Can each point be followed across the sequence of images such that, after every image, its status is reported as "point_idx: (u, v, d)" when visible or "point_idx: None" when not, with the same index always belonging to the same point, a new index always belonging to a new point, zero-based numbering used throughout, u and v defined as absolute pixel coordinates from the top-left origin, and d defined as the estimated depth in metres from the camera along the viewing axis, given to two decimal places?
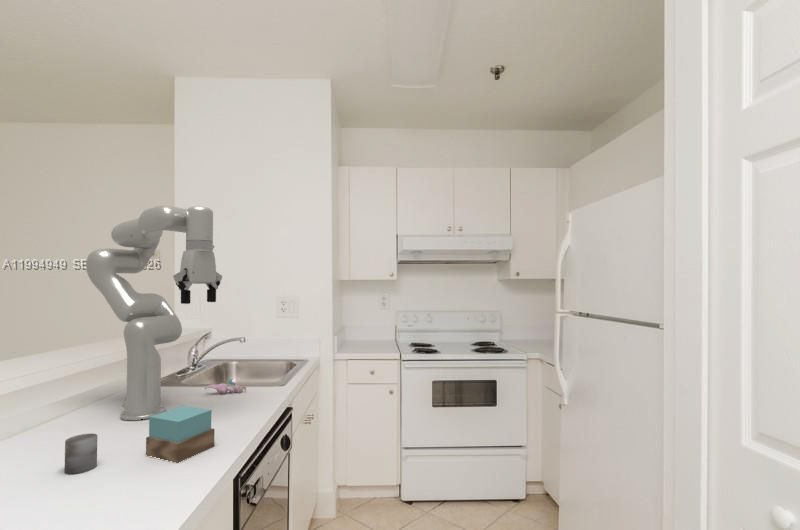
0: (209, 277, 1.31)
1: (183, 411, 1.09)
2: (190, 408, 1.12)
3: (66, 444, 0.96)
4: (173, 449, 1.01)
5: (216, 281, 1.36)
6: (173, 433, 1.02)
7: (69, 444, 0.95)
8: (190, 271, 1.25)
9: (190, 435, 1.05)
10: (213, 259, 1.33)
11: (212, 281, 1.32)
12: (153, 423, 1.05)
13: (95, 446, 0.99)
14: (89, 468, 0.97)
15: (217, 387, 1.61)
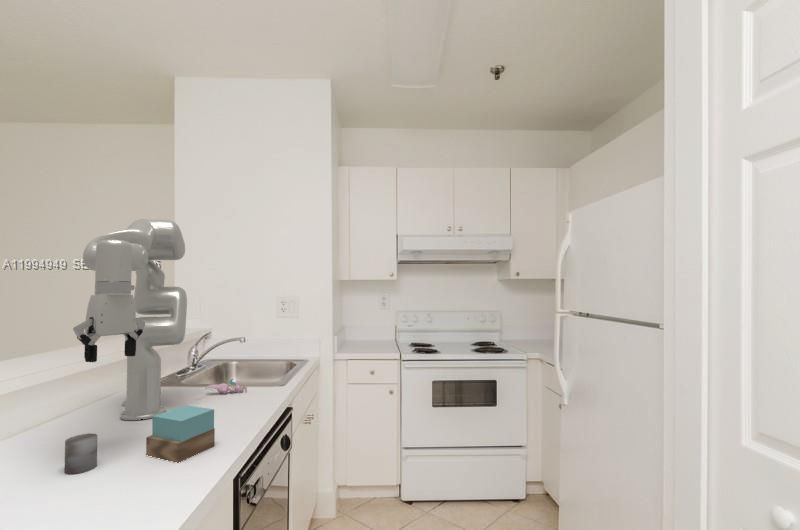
0: (125, 326, 1.06)
1: (186, 411, 1.10)
2: (193, 408, 1.12)
3: (66, 444, 0.96)
4: (173, 449, 1.02)
5: (137, 330, 1.11)
6: (176, 433, 1.02)
7: (69, 444, 0.95)
8: (97, 321, 1.00)
9: (193, 434, 1.05)
10: (132, 303, 1.08)
11: (130, 331, 1.07)
12: (156, 422, 1.05)
13: (95, 446, 0.99)
14: (89, 468, 0.97)
15: (218, 387, 1.61)
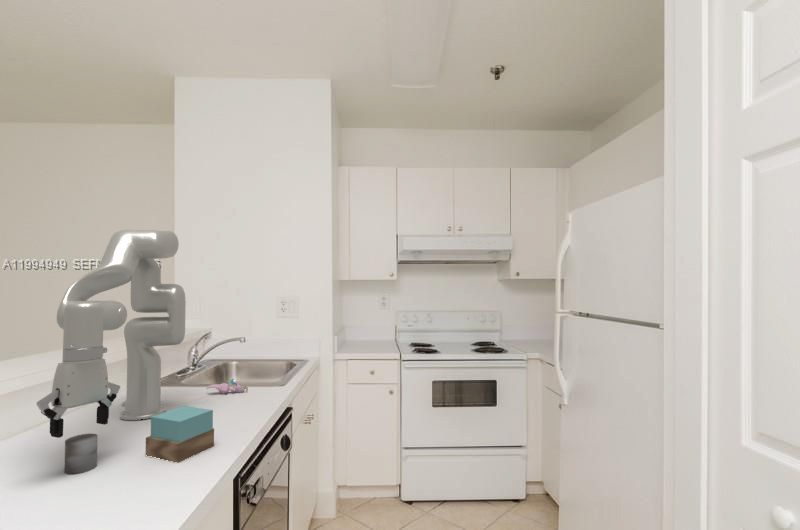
0: (96, 394, 0.99)
1: (185, 411, 1.09)
2: (192, 408, 1.12)
3: (66, 444, 0.96)
4: (173, 449, 1.02)
5: (110, 394, 1.04)
6: (175, 433, 1.02)
7: (69, 444, 0.95)
8: (63, 393, 0.93)
9: (192, 435, 1.05)
10: (103, 369, 1.01)
11: (101, 398, 1.01)
12: (154, 423, 1.05)
13: (95, 446, 0.99)
14: (89, 468, 0.97)
15: (219, 387, 1.62)
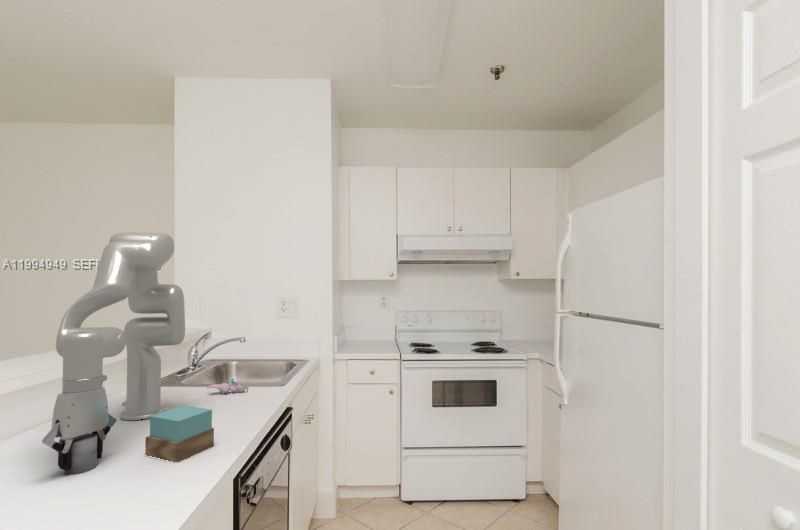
0: (96, 423, 0.99)
1: (184, 411, 1.10)
2: (191, 408, 1.12)
3: None
4: (173, 448, 1.02)
5: (105, 427, 1.03)
6: (173, 433, 1.02)
7: None
8: (63, 425, 0.93)
9: (190, 434, 1.05)
10: (103, 397, 1.01)
11: (101, 427, 1.01)
12: (153, 422, 1.05)
13: (95, 446, 0.99)
14: (89, 468, 0.97)
15: (219, 387, 1.62)
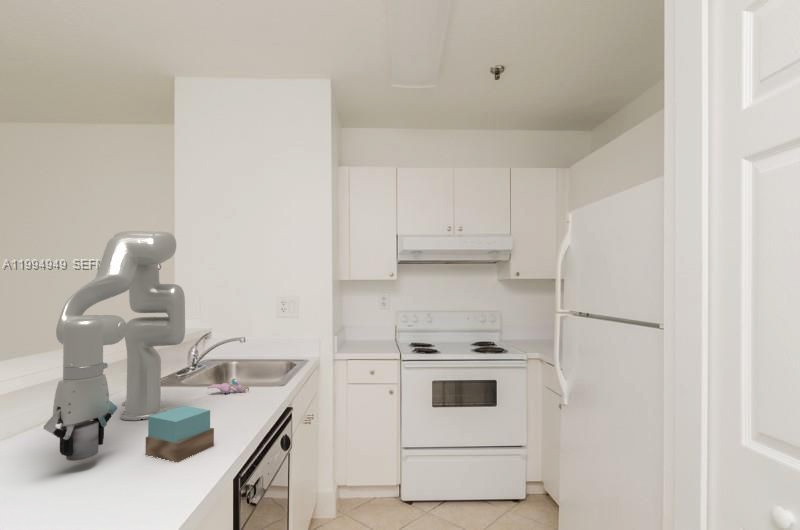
0: (97, 410, 1.00)
1: (182, 411, 1.09)
2: (190, 408, 1.12)
3: None
4: (173, 449, 1.02)
5: (106, 414, 1.04)
6: (171, 433, 1.02)
7: None
8: (64, 411, 0.94)
9: (188, 435, 1.05)
10: (104, 385, 1.01)
11: (103, 414, 1.01)
12: (152, 422, 1.05)
13: (96, 433, 0.99)
14: (90, 454, 0.98)
15: (220, 387, 1.62)
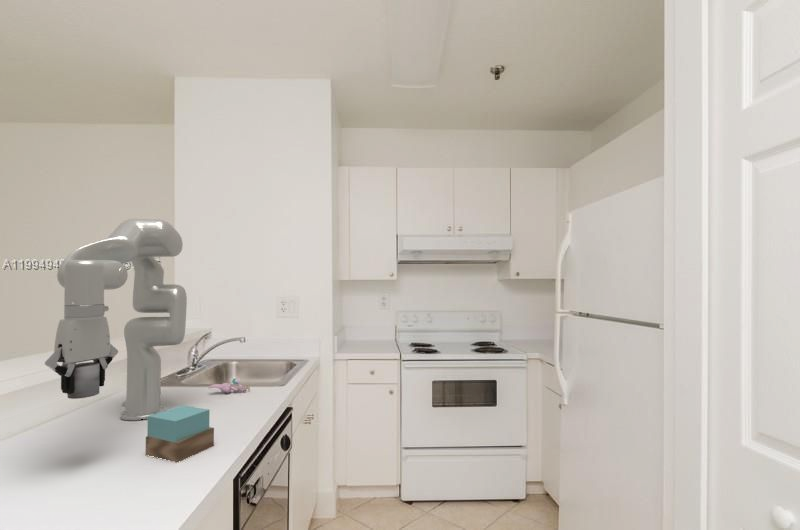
0: (98, 351, 1.00)
1: (181, 411, 1.09)
2: (189, 408, 1.12)
3: None
4: (173, 448, 1.02)
5: (107, 356, 1.04)
6: (170, 433, 1.02)
7: None
8: (66, 348, 0.94)
9: (187, 435, 1.05)
10: (105, 326, 1.02)
11: (104, 355, 1.02)
12: (151, 422, 1.05)
13: (97, 373, 1.00)
14: (92, 393, 0.98)
15: (221, 387, 1.62)
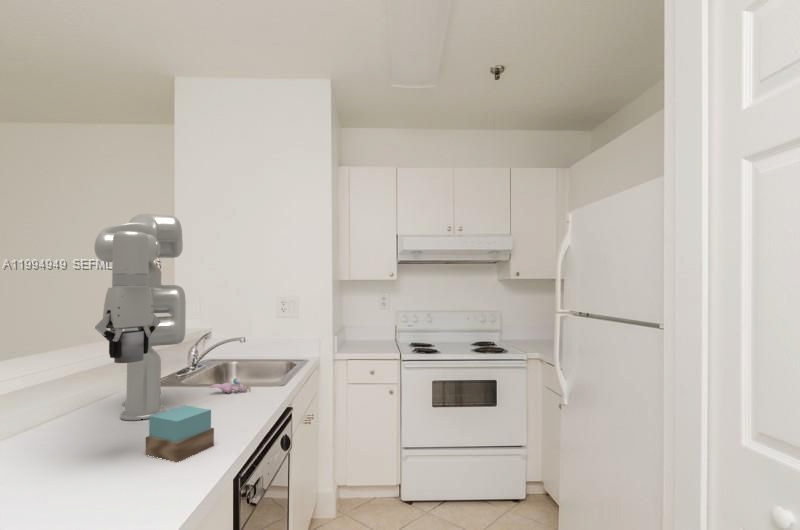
0: (143, 319, 1.05)
1: (183, 411, 1.10)
2: (190, 408, 1.12)
3: None
4: (173, 448, 1.02)
5: (150, 326, 1.08)
6: (172, 433, 1.02)
7: None
8: (114, 314, 0.99)
9: (189, 435, 1.05)
10: (149, 296, 1.06)
11: (148, 323, 1.06)
12: (152, 422, 1.05)
13: (142, 340, 1.04)
14: (137, 359, 1.02)
15: (222, 386, 1.62)
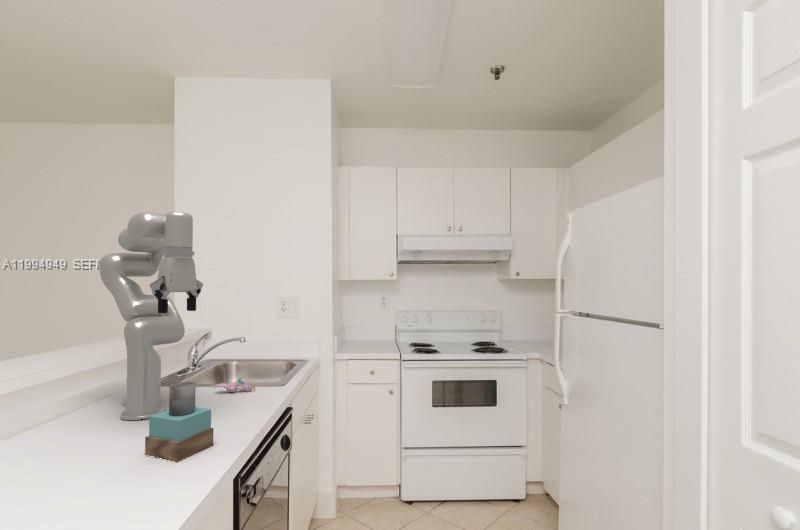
0: (188, 285, 1.26)
1: None
2: None
3: (171, 389, 1.06)
4: (173, 448, 1.02)
5: (196, 289, 1.31)
6: (174, 432, 1.03)
7: (175, 389, 1.06)
8: (168, 279, 1.20)
9: (190, 434, 1.06)
10: (193, 266, 1.28)
11: (192, 289, 1.28)
12: (153, 422, 1.05)
13: (194, 392, 1.09)
14: (191, 411, 1.08)
15: (226, 386, 1.63)
